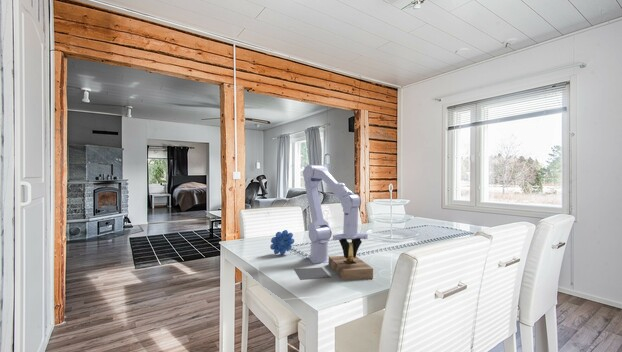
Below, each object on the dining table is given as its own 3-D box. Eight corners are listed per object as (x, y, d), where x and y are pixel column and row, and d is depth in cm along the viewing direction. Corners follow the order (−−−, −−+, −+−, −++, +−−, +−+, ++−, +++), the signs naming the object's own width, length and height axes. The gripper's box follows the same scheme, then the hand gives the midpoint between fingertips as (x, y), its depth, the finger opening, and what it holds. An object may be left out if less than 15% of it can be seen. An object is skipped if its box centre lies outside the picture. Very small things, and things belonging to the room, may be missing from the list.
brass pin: (344, 263, 119) (345, 242, 119) (351, 263, 120) (352, 241, 119) (347, 266, 116) (348, 243, 116) (354, 265, 117) (355, 243, 117)
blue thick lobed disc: (293, 251, 145) (293, 228, 145) (294, 255, 139) (295, 230, 139) (269, 252, 143) (270, 228, 143) (270, 256, 137) (270, 231, 137)
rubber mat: (293, 270, 118) (293, 269, 118) (321, 268, 121) (321, 267, 121) (300, 281, 106) (300, 279, 106) (330, 278, 110) (330, 277, 110)
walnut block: (328, 265, 125) (328, 256, 125) (354, 264, 128) (354, 255, 128) (343, 281, 108) (343, 270, 108) (372, 278, 111) (373, 268, 111)
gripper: (337, 226, 112) (336, 261, 112) (371, 225, 116) (370, 259, 116) (331, 223, 119) (330, 255, 119) (363, 222, 122) (362, 254, 123)
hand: (349, 257), depth 118 cm, fingers closed on brass pin, 3 cm apart
